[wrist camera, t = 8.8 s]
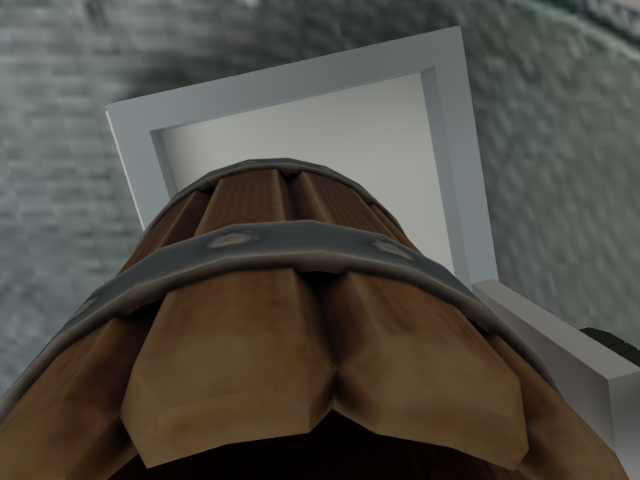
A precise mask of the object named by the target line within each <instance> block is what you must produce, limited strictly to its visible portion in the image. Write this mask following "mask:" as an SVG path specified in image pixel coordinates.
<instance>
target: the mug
mask: <svg viewBox="0 0 640 480" xmlns="http://www.w3.org/2000/svg"><path fill="white" fill-rule="evenodd" d="M0 480H630V479H629V477H628V476H627V474H626V472H625V470H624V468H623V466H622V464H621V462H620V461H619V459H618V457H617V455H616V453H615V452H614V451H613V450H612V449H611V448H610V447H609V446H608V445H607V444H606V443H605V442H604V441H603V440H602V439H601V438H600V437H599V436H598V435H597V434H596V433H595V432H594V431H593V430H592V428H591V427H590V426H589V425H588V424H587V423H586V422H585V421H584V420H583V419H582V418H581V417H580V416H579V415H578V414H577V413H576V412H575V411H574V410H573V409H572V408H571V407H570V406H569V405H568V404H567V403H566V402H565V400H564V398H563V396H562V394H561V393H560V391H559V389H558V387H557V386H556V384H555V382H554V380H553V379H552V377H551V375H550V373H549V371H548V370H547V368H546V366H545V364H544V363H543V361H542V359H541V358H539V357H538V356H537V355H536V354H535V353H534V352H533V351H532V350H531V349H530V348H529V347H528V346H527V345H526V344H525V343H524V342H523V341H522V340H521V339H520V338H519V337H518V336H517V335H516V334H515V333H514V332H513V331H512V330H511V329H510V328H509V327H508V326H507V325H505V324H504V323H503V322H502V321H501V320H500V319H499V318H498V317H497V316H496V315H495V314H494V313H493V312H492V311H491V310H490V309H489V308H488V307H487V306H486V305H485V304H484V303H483V302H482V301H480V300H479V299H478V298H477V297H476V296H475V295H474V294H473V293H472V292H471V291H470V290H469V289H468V288H467V287H466V286H465V285H464V284H463V283H461V282H460V281H459V280H458V279H457V278H456V277H455V276H454V275H453V274H452V273H451V272H450V271H449V270H448V269H447V268H446V267H445V266H443V265H441V264H439V263H437V262H435V261H433V260H431V259H429V258H428V257H426V256H424V255H423V254H422V253H421V252H420V251H419V250H418V249H417V248H416V247H415V246H414V245H413V243H412V242H411V241H410V240H409V239H408V237H407V236H406V234H405V232H404V231H403V229H402V227H401V226H400V224H399V222H398V221H397V219H396V218H395V217H394V216H393V215H392V214H391V213H390V212H389V211H388V210H387V209H386V208H385V207H384V206H383V205H381V204H380V203H379V202H378V201H377V200H376V199H375V198H374V197H373V196H372V195H371V194H370V193H369V192H368V191H367V190H366V189H365V188H363V187H362V186H361V185H360V184H359V183H357V182H355V181H353V180H351V179H349V178H348V177H346V176H344V175H342V174H340V173H338V172H336V171H334V170H332V169H331V168H329V167H327V166H323V165H319V164H314V163H310V162H305V161H301V160H297V159H292V158H267V159H248V160H244V161H241V162H238V163H235V164H232V165H229V166H226V167H223V168H219V169H216V170H213V171H210V172H208V173H207V174H205V175H204V176H202V177H201V178H199V179H198V180H196V181H195V182H193V183H192V184H190V185H189V186H187V187H185V188H184V189H182V190H181V191H179V192H178V193H176V195H175V196H174V197H173V198H172V199H171V200H170V201H169V203H168V204H167V205H166V206H165V207H164V208H163V209H162V210H161V212H160V213H159V214H158V215H157V216H156V217H155V218H154V220H153V221H152V222H151V223H150V224H149V225H148V227H147V228H146V229H145V230H144V231H143V233H142V234H141V236H140V238H139V240H138V242H137V244H136V246H135V248H134V250H133V253H132V255H131V257H130V259H129V260H128V261H127V263H126V264H125V265H124V266H123V268H122V269H121V270H120V272H119V273H118V274H117V275H116V277H115V278H113V279H112V280H110V281H108V282H107V283H105V284H104V285H102V286H101V287H99V288H98V289H96V290H95V291H94V292H93V293H92V294H91V295H90V297H89V298H88V299H87V300H86V301H85V302H84V303H83V304H82V306H81V307H80V308H79V309H78V310H77V311H76V312H75V314H74V315H73V316H72V317H71V318H70V319H69V320H68V321H67V323H66V324H65V325H64V326H63V327H62V328H61V329H60V331H59V332H58V333H57V334H56V335H55V336H54V337H53V339H52V340H51V341H50V342H49V343H48V344H47V345H46V346H45V348H44V349H43V350H42V351H41V352H40V354H39V355H38V356H37V357H36V358H35V359H34V361H33V362H32V363H31V364H30V365H29V367H28V368H27V369H26V370H25V371H24V372H23V374H22V375H21V376H20V377H19V378H18V379H17V381H16V382H15V383H14V384H13V385H12V387H11V388H10V389H9V390H8V391H7V392H6V394H5V395H4V396H3V397H2V398H1V400H0Z"/></svg>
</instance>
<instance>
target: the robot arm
mask: <svg viewBox="0 0 640 480" xmlns="http://www.w3.org/2000/svg"><path fill="white" fill-rule="evenodd" d="M472 290H473V294H474V295H475V296H476V297H477V298H478V299H479V300H480V301H482V302H483V303H484V304H485V305H486V306H487V307H488V308H489V309H490V310H491V311H492V312H493V313H494V314H495V315H496V316H497V317H498V318H499V319H500V320H501V321H502V322H503V323H504V324H505V325H507V326H508V327H509V328H510V329H511V330H512V331H513V332H514V333H515V334H516V335H517V336H518V337H519V338H520V339H521V340H522V341H523V342H524V343H525V344H526V345H527V346H528V347H529V348H530V349H531V350H532V351H533V352H534V353H535V354H536V355H537V356H538V357H539V358H541V359H542V361H543V363H544V364H545V366H546V368H547V370H548V371H549V373H550V375H551V377H552V379H553V380H554V382H555V384H556V386H557V387H558V389H559V391H560V393H561V394H562V396H563V398H564V400H565V402H566V403H567V404H568V405H569V406H570V407H571V408H572V409H573V410H574V411H575V412H576V413H577V414H578V415H579V416H580V417H581V418H582V419H583V420H584V421H585V422H586V423H587V424H588V425H589V426H590V427H591V428H592V430H593V431H594V432H595V433H596V434H597V435H598V436H599V437H600V438H601V439H602V440H603V441H604V442H605V443H606V444H607V445H608V446H609V447H610V448H611V449H612V450H613V451H614V452H615V453H616V455H617V457H618V459H619V461H620V462H621V464H622V466H623V468H624V470H625V472H626V474H627V476H628V477H629V479H630V480H640V350H637V348H636V347H634V346H632V345H630V344H629V343H625V342H624V341H623V340H621V339H620V338H618V337H616V336H614V335H612V334H611V333H609V332H605V331H601V330H598V329H594V328H590V327H588V328H584V329H580V330H577V329H576V328H574V327H572V326H571V325H569V324H567V323H566V322H564V321H562V320H561V319H559V318H557V317H556V316H554V315H553V314H551V313H549V312H548V311H546V310H544V309H543V308H541V307H539V306H538V305H536V304H534V303H533V302H531V301H530V300H528V299H526V298H525V297H523V296H521V295H520V294H518V293H516V292H515V291H513V290H511V289H510V288H508V287H507V286H505V285H503V284H502V283H500V282H498V281H497V280H495V279H493V278H492V279H489V280H485V281H481V282H477V283H473V284H472Z"/></svg>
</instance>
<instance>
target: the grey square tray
mask: <svg viewBox="0 0 640 480" xmlns="http://www.w3.org/2000/svg"><path fill="white" fill-rule="evenodd" d="M106 107H107V110H108V111H106V115H107V118H108V121H109V124H110V127H111V130H112V134H113V137H114V140H115V143H116V146H117V149H118V153H119V156H120V159H121V162H122V165H123V168H124V172H125V175H126V178H127V181H128V184H129V187H130V191H131V194H132V197H133V200H134V203H135V206H136V210H137V213H138V216H139V219H140V222H141V225H142V228H143V231H144V230H145V229H146V228H147V227H148V225H149V224H150V223H151V222H152V221H153V220H154V218H155V217H156V216H157V215H158V214H159V213H160V212H161V210H162V209H163V208H164V207H165V206H166V205H167V204H168V203H169V201H170V200H171V199H172V198H173V197H174V196H175V195H176V193H178V192H179V191H181V190H182V189H184V188H185V187H187V186H189V185H190V184H192V183H193V182H195V181H196V180H198V179H199V178H201V177H202V176H204V175H205V174H207V173H208V172H210V171H213V170H216V169H219V168H223V167H226V166H229V165H232V164H235V163H238V162H241V161H244V160H248V159H267V158H292V159H297V160H301V161H305V162H310V163H314V164H319V165H323V166H327V167H329V168H331V169H332V170H334V171H336V172H338V173H340V174H342V175H344V176H346V177H348V178H349V179H351V180H353V181H355V182H357V183H359V184H360V185H361V186H362V187H363V188H365V189H366V190H367V191H368V192H369V193H370V194H371V195H372V196H373V197H374V198H375V199H376V200H377V201H378V202H379V203H380V204H381V205H383V206H384V207H385V208H386V209H387V210H388V211H389V212H390V213H391V214H392V215H393V216H394V217H395V218H396V219H397V221H398V222H399V224H400V226H401V227H402V229H403V231H404V232H405V234H406V236H407V237H408V239H409V240H410V241H411V242H412V243H413V245H414V246H415V247H416V248H417V249H418V250H419V251H420V252H421V253H422V254H423V255H424V256H426V257H428V258H429V259H431V260H433V261H435V262H437V263H439V264H441V265H443V266H445V267H446V268H447V269H448V270H449V271H450V272H451V273H452V274H453V275H454V276H455V277H456V278H457V279H458V280H459V281H460V282H461V283H463V284H464V285H465V286H466V287H467V288H468V289H469V290H470V291H471V292H472V293H473V290H472V284H473V283H477V282H481V281H485V280H489V279H492V278H493V279H495V280H497V281H498V282H499V279H498V272H497V266H496V259H495V252H494V246H493V239H492V232H491V226H490V219H489V212H488V205H487V199H486V192H485V185H484V179H483V172H482V165H481V159H480V152H479V145H478V139H477V132H476V125H475V119H474V112H473V105H472V99H471V92H470V85H469V79H468V72H467V65H466V58H465V52H464V45H463V38H462V32H461V25H459V26H454V27H450V28H445V29H441V30H436V31H432V32H427V33H423V34H418V35H414V36H409V37H405V38H401V39H396V40H392V41H387V42H383V43H378V44H374V45H369V46H365V47H360V48H356V49H351V50H347V51H342V52H338V53H333V54H329V55H325V56H320V57H316V58H311V59H307V60H302V61H298V62H293V63H289V64H284V65H280V66H275V67H271V68H266V69H262V70H257V71H253V72H249V73H244V74H240V75H235V76H231V77H226V78H222V79H217V80H213V81H208V82H204V83H199V84H195V85H190V86H186V87H181V88H177V89H173V90H168V91H164V92H159V93H155V94H150V95H146V96H141V97H137V98H132V99H128V100H123V101H119V102H114V103H110V104H106Z"/></svg>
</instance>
